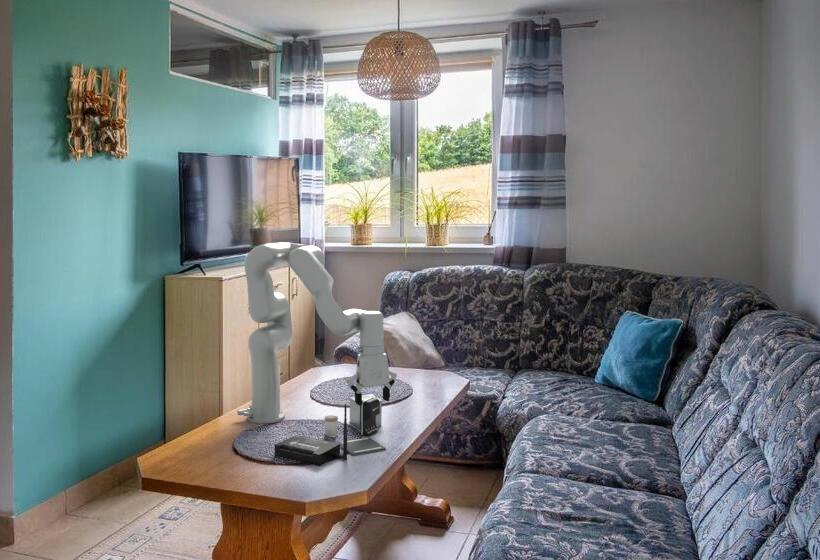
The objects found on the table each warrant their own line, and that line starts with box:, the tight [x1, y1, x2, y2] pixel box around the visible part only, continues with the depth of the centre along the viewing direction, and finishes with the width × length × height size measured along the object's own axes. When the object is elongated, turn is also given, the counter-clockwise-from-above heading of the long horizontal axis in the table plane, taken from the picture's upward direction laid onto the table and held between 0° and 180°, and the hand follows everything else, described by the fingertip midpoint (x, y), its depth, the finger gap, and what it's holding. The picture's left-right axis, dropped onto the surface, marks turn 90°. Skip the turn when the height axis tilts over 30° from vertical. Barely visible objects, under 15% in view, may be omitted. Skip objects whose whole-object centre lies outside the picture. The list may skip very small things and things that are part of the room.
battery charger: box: [359, 397, 380, 437], centre depth 230 cm, size 7×4×11 cm, turn 149°
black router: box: [274, 403, 348, 467], centre depth 208 cm, size 20×14×17 cm
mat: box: [336, 436, 387, 457], centre depth 218 cm, size 11×11×1 cm
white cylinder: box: [324, 414, 339, 436], centre depth 228 cm, size 4×4×6 cm
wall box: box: [348, 393, 384, 430], centre depth 240 cm, size 9×9×9 cm
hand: (372, 402), depth 229 cm, fingers open, 9 cm apart
